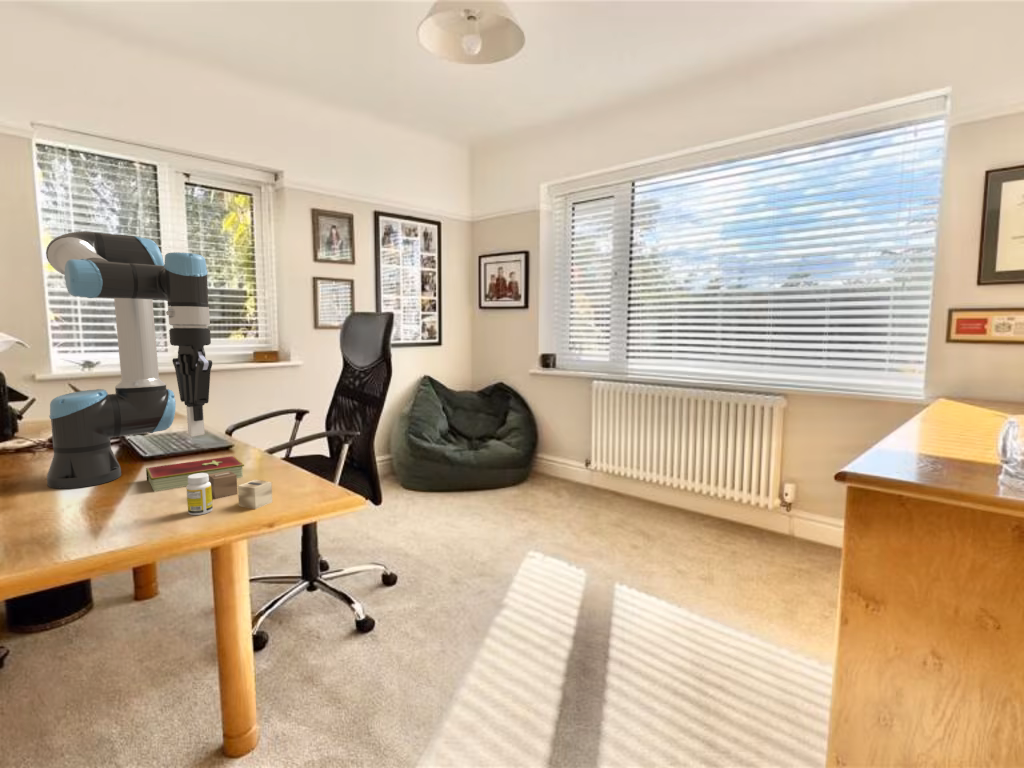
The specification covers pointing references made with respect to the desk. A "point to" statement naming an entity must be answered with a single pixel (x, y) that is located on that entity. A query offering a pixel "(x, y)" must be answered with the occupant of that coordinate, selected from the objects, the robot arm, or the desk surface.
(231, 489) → the walnut block
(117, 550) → the desk surface
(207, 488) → the supplement bottle
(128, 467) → the desk surface
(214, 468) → the hardcover book
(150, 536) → the desk surface
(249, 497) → the beech block
